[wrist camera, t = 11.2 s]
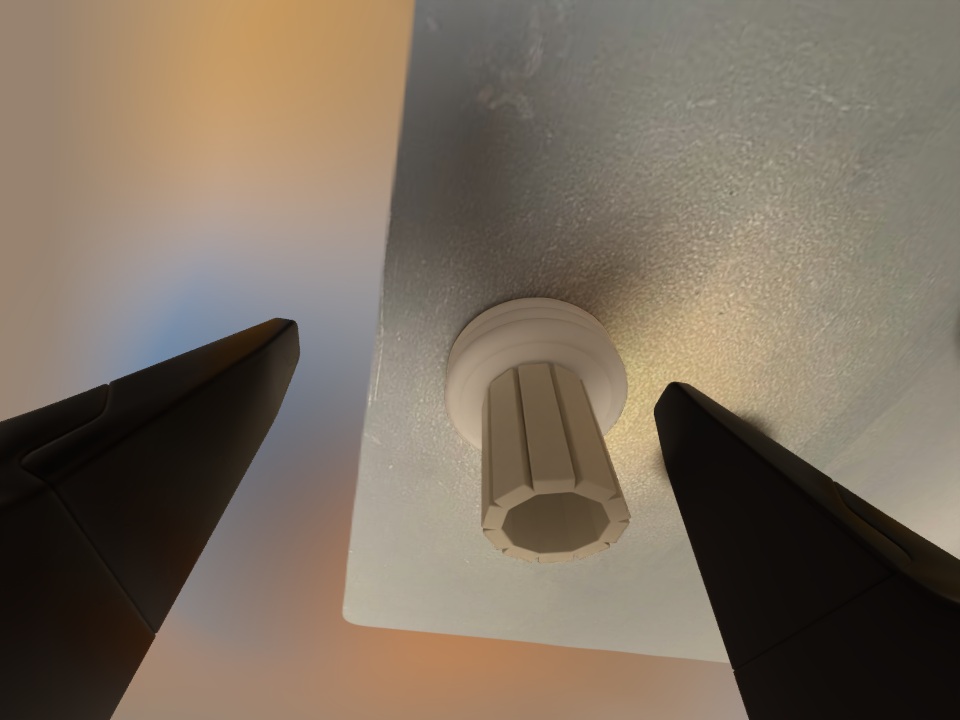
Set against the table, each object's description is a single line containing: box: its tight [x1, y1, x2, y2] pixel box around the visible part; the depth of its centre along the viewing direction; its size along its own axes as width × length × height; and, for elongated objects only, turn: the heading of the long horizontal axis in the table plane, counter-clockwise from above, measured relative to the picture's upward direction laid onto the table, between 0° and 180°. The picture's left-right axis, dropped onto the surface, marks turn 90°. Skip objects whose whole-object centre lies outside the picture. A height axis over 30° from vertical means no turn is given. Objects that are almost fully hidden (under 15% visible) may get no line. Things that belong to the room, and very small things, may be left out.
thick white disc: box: [444, 298, 628, 452], centre depth 22 cm, size 10×10×4 cm
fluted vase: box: [481, 363, 631, 563], centre depth 18 cm, size 6×6×7 cm
